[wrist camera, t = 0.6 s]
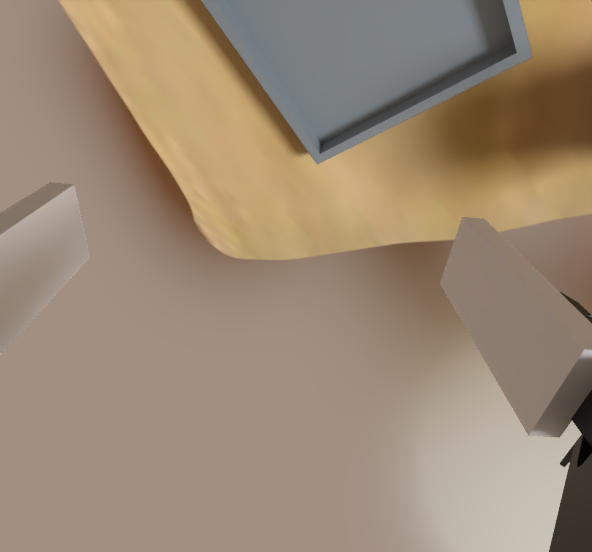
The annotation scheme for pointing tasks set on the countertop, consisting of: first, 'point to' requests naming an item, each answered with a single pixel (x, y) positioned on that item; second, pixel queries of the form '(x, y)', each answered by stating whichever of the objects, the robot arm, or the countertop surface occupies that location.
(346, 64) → the slate tray
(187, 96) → the countertop surface
